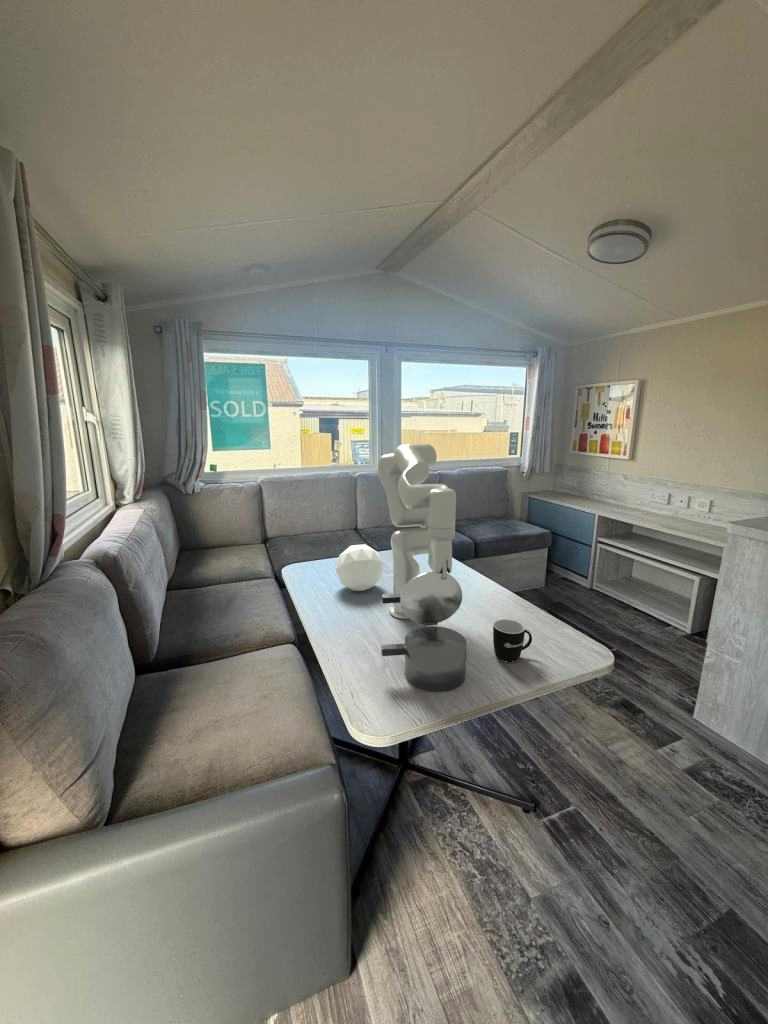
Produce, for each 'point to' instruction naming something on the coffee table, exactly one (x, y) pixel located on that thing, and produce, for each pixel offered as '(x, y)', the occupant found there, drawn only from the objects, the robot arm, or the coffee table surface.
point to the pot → (432, 658)
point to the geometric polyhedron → (359, 567)
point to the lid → (428, 598)
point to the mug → (509, 639)
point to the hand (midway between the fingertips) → (439, 592)
